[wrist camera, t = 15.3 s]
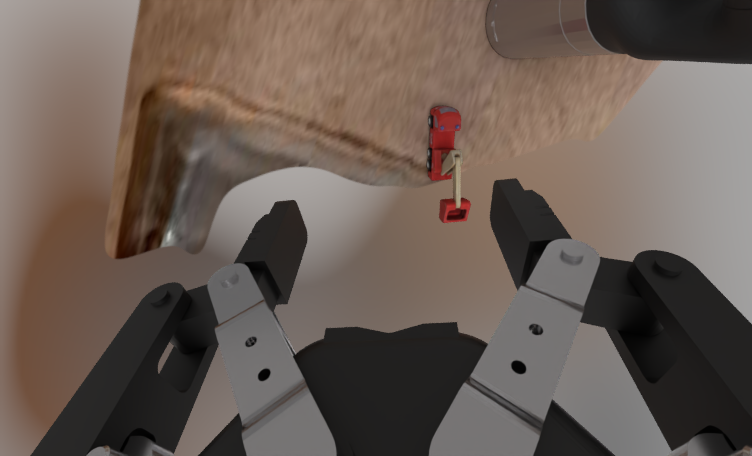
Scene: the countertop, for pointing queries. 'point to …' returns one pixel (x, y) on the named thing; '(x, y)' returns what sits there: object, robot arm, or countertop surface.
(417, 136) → the countertop surface
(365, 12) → the countertop surface
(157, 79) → the countertop surface
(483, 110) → the countertop surface
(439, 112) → the toy fire truck
